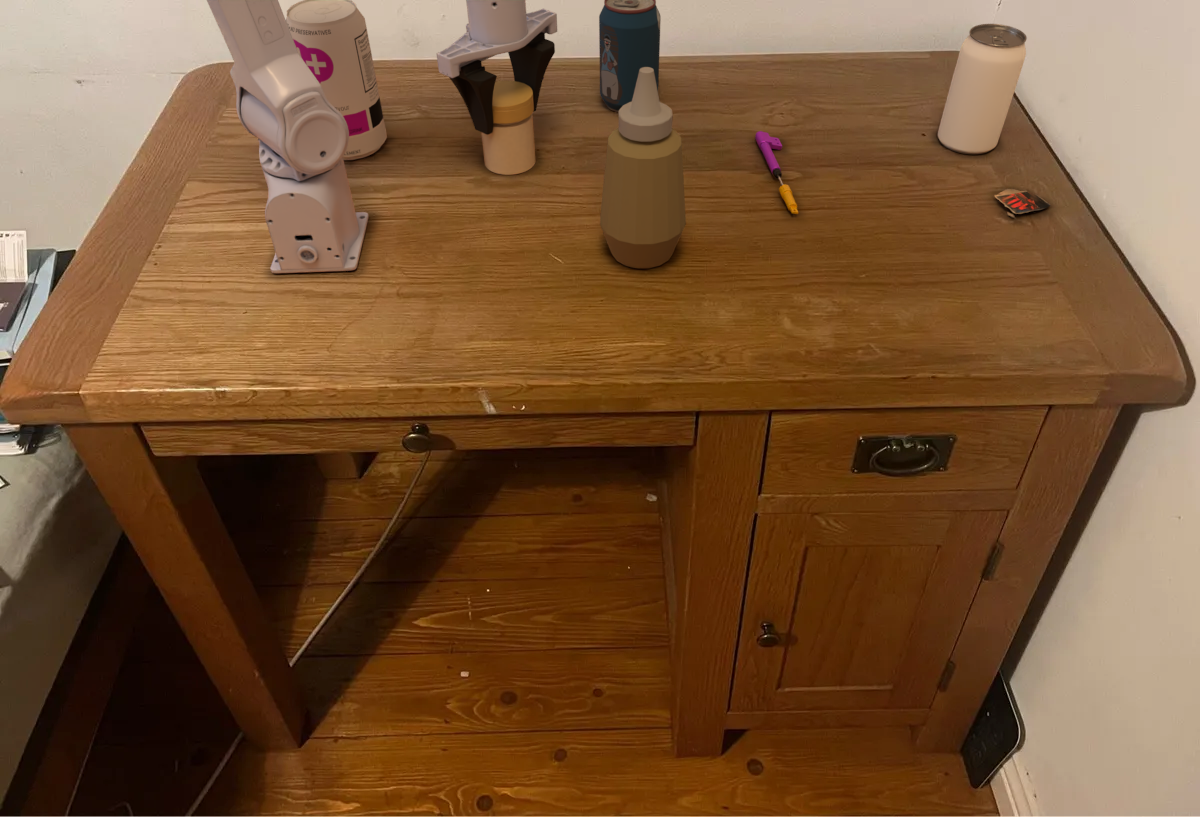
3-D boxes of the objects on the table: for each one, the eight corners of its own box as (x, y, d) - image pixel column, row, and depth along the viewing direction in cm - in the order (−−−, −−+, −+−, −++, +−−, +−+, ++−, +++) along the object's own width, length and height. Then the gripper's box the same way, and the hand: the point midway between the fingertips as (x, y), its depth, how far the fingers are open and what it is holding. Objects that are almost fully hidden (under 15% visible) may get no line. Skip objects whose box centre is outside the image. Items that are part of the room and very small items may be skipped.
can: (990, 128, 104) (1023, 22, 96) (1002, 157, 100) (1038, 48, 91) (932, 126, 105) (960, 20, 96) (941, 154, 100) (971, 46, 92)
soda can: (662, 92, 112) (666, -9, 103) (651, 119, 107) (654, 15, 98) (607, 87, 113) (607, -14, 104) (593, 112, 108) (592, 9, 100)
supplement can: (348, 170, 99) (317, 32, 89) (299, 148, 103) (263, 12, 92) (403, 141, 104) (379, 6, 93) (353, 120, 107) (325, -12, 97)
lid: (478, 98, 98) (476, 81, 97) (534, 96, 98) (532, 79, 97) (475, 124, 94) (473, 107, 92) (533, 122, 94) (532, 105, 92)
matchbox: (1053, 206, 92) (1055, 202, 92) (1019, 222, 90) (1021, 218, 90) (1015, 186, 95) (1017, 182, 95) (982, 201, 93) (983, 197, 93)
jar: (535, 174, 98) (531, 113, 93) (483, 176, 98) (476, 114, 93) (535, 148, 102) (531, 88, 97) (485, 150, 102) (478, 90, 97)
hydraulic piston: (752, 137, 103) (787, 217, 92) (756, 128, 102) (792, 207, 91) (774, 141, 103) (812, 220, 92) (778, 132, 103) (816, 210, 91)
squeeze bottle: (677, 282, 84) (689, 96, 72) (592, 272, 85) (588, 88, 73) (689, 233, 90) (701, 53, 77) (608, 224, 91) (607, 46, 78)
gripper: (519, -44, 93) (528, 85, 102) (408, -3, 85) (428, 132, 95) (570, -28, 89) (574, 104, 99) (458, 17, 82) (474, 155, 91)
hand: (506, 119), depth 97 cm, fingers closed on lid, 6 cm apart
